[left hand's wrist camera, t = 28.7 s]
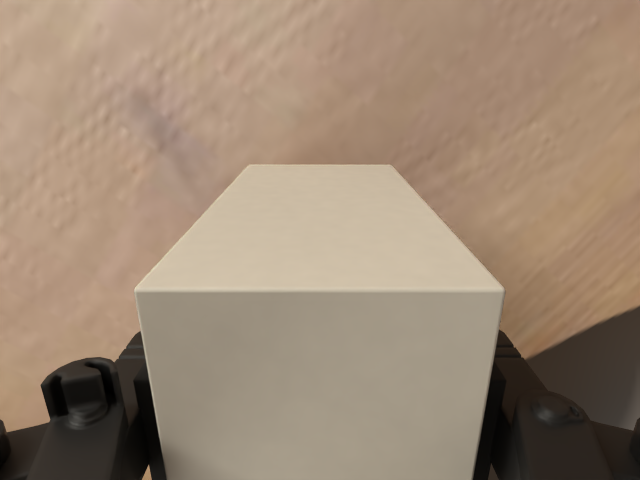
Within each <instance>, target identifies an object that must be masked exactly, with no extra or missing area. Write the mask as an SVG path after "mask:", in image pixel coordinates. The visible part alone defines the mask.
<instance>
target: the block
mask: <svg viewBox="0 0 640 480" xmlns="http://www.w3.org/2000/svg"><path fill="white" fill-rule="evenodd" d="M134 295H135V300H136V306H137V312H138V317H139V323H140V329H141V335H142V340H143V346H144V352H145V358H146V363H147V369H148V375H149V381H150V386H151V392H152V398H153V404H154V409H155V415H156V421H157V426H158V432H159V438H160V444H161V449H162V455H163V461H164V467H165V472H166V478H167V480H473V476H474V470H475V464H476V458H477V453H478V447H479V441H480V435H481V430H482V424H483V418H484V412H485V406H486V401H487V395H488V389H489V383H490V378H491V372H492V366H493V360H494V355H495V349H496V343H497V337H498V332H499V326H500V320H501V314H502V309H503V303H504V297H505V288H504V287H503V286H502V285H501V284H500V283H499V282H498V280H497V279H496V278H495V277H494V276H493V275H492V274H491V273H490V272H489V271H488V270H487V268H486V267H485V266H484V265H483V264H482V263H481V262H480V261H479V260H478V259H477V258H476V256H475V255H474V254H473V253H472V252H471V251H470V250H469V249H468V248H467V247H466V246H465V244H464V243H463V242H462V241H461V240H460V239H459V238H458V237H457V236H456V235H455V234H454V232H453V231H452V230H451V229H450V228H449V227H448V226H447V225H446V224H445V223H444V222H443V221H442V219H441V218H440V217H439V216H438V215H437V214H436V213H435V212H434V211H433V210H432V209H431V207H430V206H429V205H428V204H427V203H426V202H425V201H424V200H423V199H422V198H421V197H420V195H419V194H418V193H417V192H416V191H415V190H414V189H413V188H412V187H411V186H410V185H409V183H408V182H407V181H406V180H405V179H404V178H403V177H402V176H401V175H400V174H399V173H398V171H397V170H396V169H395V168H394V167H393V166H392V165H248V166H247V167H246V168H245V169H244V170H243V172H242V173H241V174H240V175H239V176H238V177H237V178H236V179H235V180H234V181H233V182H232V183H231V185H230V186H229V187H228V188H227V189H226V190H225V191H224V192H223V193H222V194H221V195H220V196H219V198H218V199H217V200H216V201H215V202H214V203H213V204H212V205H211V206H210V207H209V208H208V209H207V211H206V212H205V213H204V214H203V215H202V216H201V217H200V218H199V219H198V220H197V221H196V222H195V223H194V225H193V226H192V227H191V228H190V229H189V230H188V231H187V232H186V233H185V234H184V235H183V236H182V238H181V239H180V240H179V241H178V242H177V243H176V244H175V245H174V246H173V247H172V248H171V249H170V251H169V252H168V253H167V254H166V255H165V256H164V257H163V258H162V259H161V260H160V261H159V262H158V264H157V265H156V266H155V267H154V268H153V269H152V270H151V271H150V272H149V273H148V274H147V275H146V277H145V278H144V279H143V280H142V281H141V282H140V283H139V284H138V285H137V286H136V287H135V290H134Z"/></svg>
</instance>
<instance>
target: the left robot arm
mask: <svg viewBox="0 0 640 480" xmlns="http://www.w3.org/2000/svg"><path fill="white" fill-rule="evenodd" d="M41 388H42V392H43V395H44V399H45V402H46V406H47V409H48V413H49V416H50V422H49V423H45V424H42V425H38V426H34V427H29V428H25V429H20V430H16V431H11V432H6V429H5V426H4V423H3V421H2V420H0V480H142V478H143V476H144V473H145V471H146V469H147V467H148V465H149V467H150V472H151V477H152V480H167V478H166V472H165V467H164V461H163V455H162V449H161V444H160V438H159V432H158V426H157V421H156V415H155V409H154V404H153V398H152V392H151V386H150V381H149V375H148V369H147V363H146V358H145V352H144V346H143V340H142V335H141V331H140V332H138V333H137V334H135V336H134V337H133V338H132V340H131V341H130V342H129V344H128V345H127V346H126V349H124V350H123V352H122V353H121V355H120V356H119V359H117V360H116V361H115V363H114V362H113V361H112V360H110V359H106V358H101V357H96V358H85V359H81V360H77V361H74V362H71V363H69V364H67V365H64V366H62V367H60V368H58V369H57V370H55V371H54V372H53V373H51V374H50V375H48V376H47V377H46V379H45V380H44V381H43V382H42V384H41ZM491 463H492V465H493V468H494V470H495V472H496V474H497V476H498V478H499V480H640V418H639V419H638V420H637V422H636V425H635V428H634V431H632V430H628V429H623V428H619V427H614V426H610V425H605V424H601V423H597V422H594V421H590V419H589V417H588V416H587V415H586V413H585V412H584V410H583V409H582V408H581V407H579V406H578V405H577V404H576V403H574V402H573V401H572V400H570V399H568V398H566V397H564V396H562V395H560V394H557V393H554V392H550V391H548V390H547V389H546V388H545V386H544V385H543V384H542V382H541V381H540V380H539V378H538V377H537V376H536V374H535V373H534V372H533V370H532V369H531V368H530V366H529V365H528V364H527V362H526V361H525V360H524V358H521V354H520V353H519V352H518V350H517V349H516V348H514V345H513V344H512V342H511V341H510V340H509V338H508V337H507V336H506V334H505V333H504V332H502V331H501V330H499V332H498V337H497V343H496V349H495V355H494V360H493V366H492V372H491V378H490V383H489V389H488V395H487V401H486V406H485V412H484V418H483V424H482V430H481V435H480V441H479V447H478V453H477V458H476V464H475V470H474V476H473V480H488V476H489V470H490V465H491Z"/></svg>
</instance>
